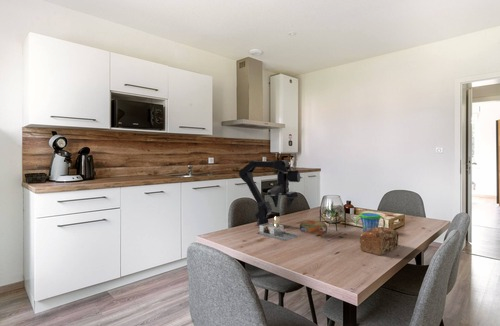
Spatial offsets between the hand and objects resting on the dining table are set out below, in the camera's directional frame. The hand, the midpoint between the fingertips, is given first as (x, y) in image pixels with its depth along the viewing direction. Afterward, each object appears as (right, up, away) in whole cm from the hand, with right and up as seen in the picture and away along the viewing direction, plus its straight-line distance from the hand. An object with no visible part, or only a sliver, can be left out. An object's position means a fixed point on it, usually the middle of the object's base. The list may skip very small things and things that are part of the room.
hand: (282, 208), depth 168 cm
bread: (+42, -14, -34) cm, 56 cm away
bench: (-4, -13, -14) cm, 20 cm away
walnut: (-7, -12, -11) cm, 18 cm away
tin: (+16, -14, -11) cm, 24 cm away
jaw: (-4, -12, -14) cm, 19 cm away
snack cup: (+50, -13, -4) cm, 52 cm away
